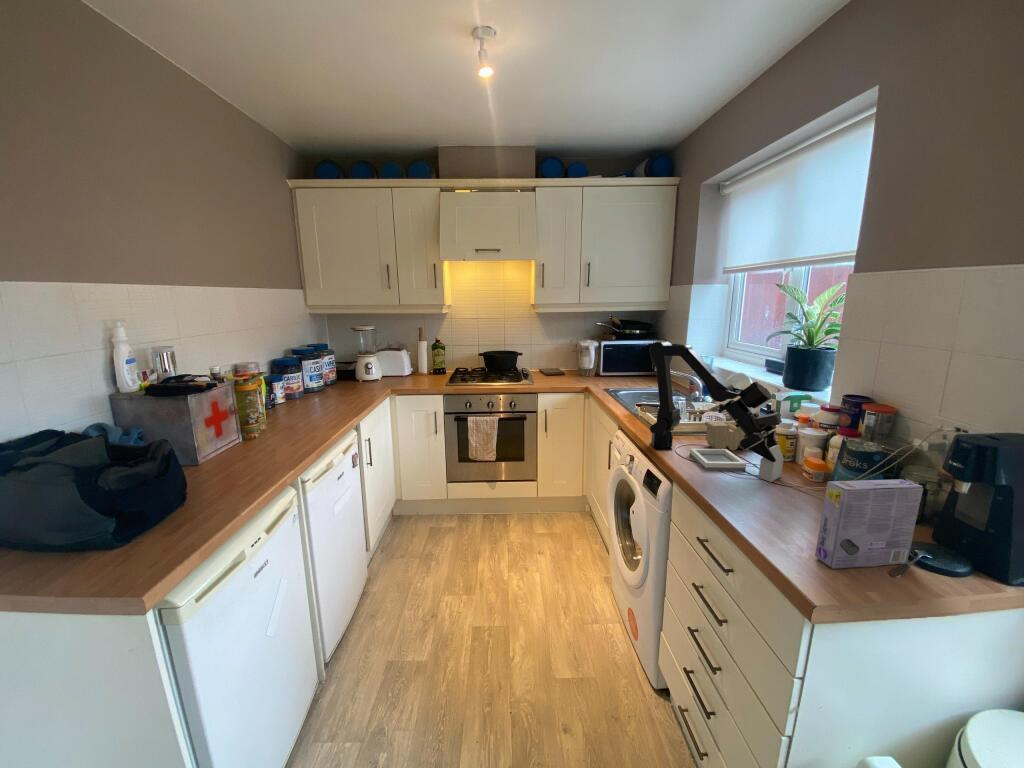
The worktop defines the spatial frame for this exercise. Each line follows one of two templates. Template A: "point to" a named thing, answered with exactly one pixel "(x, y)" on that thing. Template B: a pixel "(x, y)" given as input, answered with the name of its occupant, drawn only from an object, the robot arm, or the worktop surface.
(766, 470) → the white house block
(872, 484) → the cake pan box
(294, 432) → the worktop surface
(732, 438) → the toy train
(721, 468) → the tray
